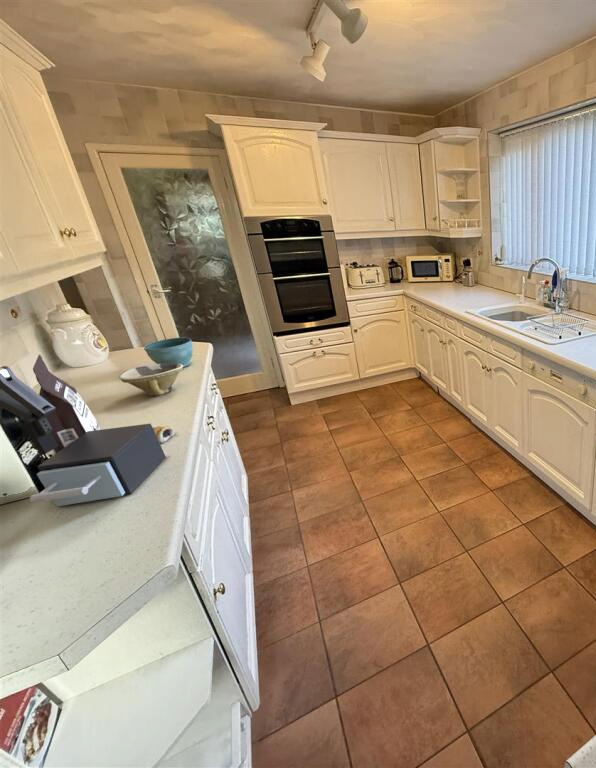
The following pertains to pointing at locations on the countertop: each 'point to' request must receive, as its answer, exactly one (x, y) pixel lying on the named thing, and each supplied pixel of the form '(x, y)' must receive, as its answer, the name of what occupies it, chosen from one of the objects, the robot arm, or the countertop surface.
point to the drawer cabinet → (114, 453)
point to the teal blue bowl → (171, 351)
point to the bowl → (153, 377)
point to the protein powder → (63, 407)
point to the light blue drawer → (79, 483)
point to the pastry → (163, 433)
